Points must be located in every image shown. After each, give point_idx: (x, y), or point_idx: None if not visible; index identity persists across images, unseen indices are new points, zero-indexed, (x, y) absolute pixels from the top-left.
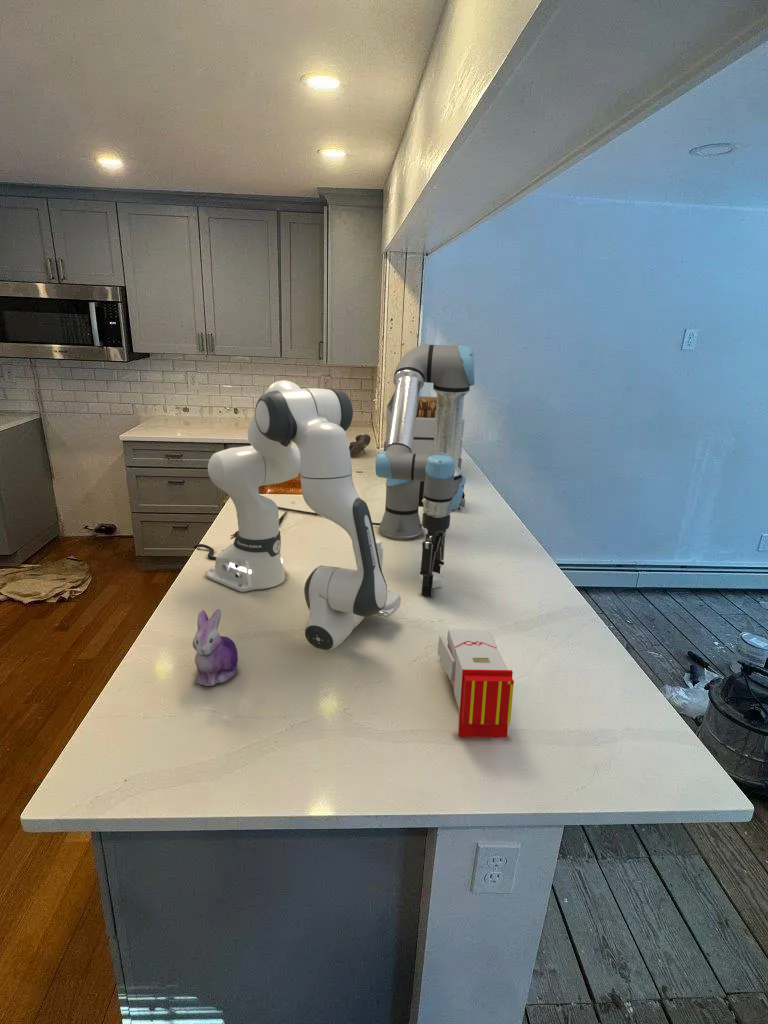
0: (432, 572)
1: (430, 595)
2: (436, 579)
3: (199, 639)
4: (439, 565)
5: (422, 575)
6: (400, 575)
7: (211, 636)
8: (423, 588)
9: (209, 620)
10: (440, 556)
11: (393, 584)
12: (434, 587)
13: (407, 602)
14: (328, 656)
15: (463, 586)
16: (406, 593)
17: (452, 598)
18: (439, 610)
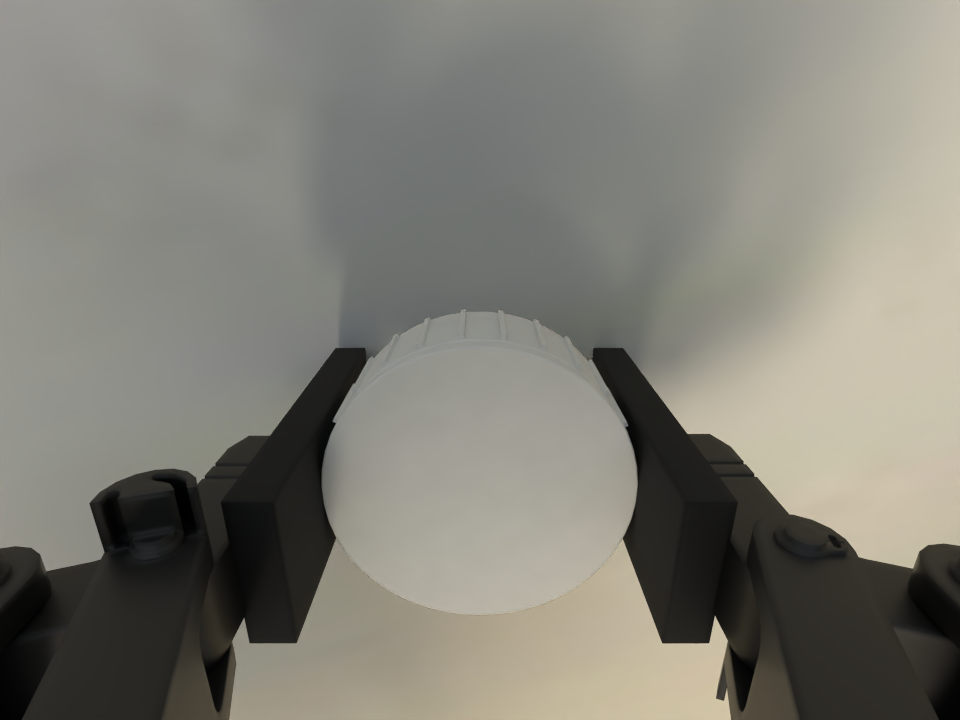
0: (358, 519)
1: (626, 356)
2: (565, 403)
3: None
4: (232, 521)
5: (527, 595)
6: (328, 691)
7: None
8: None
9: None
10: (132, 713)
11: (515, 681)
12: (590, 365)
13: (795, 496)
14: None
15: (145, 71)
16: (628, 555)
17: (536, 109)
18: (880, 164)
